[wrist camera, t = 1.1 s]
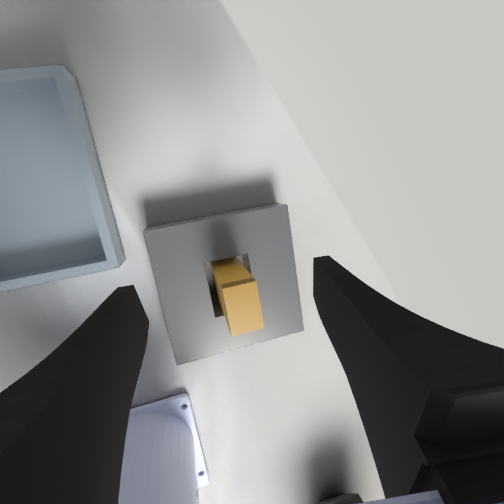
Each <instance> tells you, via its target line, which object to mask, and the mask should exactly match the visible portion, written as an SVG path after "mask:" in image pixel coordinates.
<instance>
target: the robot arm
mask: <svg viewBox="0 0 504 504" xmlns="http://www.w3.org/2000/svg"><path fill="white" fill-rule="evenodd" d="M313 297H314V300H315V303H316V307H317V310H318V313H319V316H320V319H321V321H322V323H323V325H324V327H325V330H326V332H327V334H328V336H329V338H330V340H331V343H332V345H333V347H334V349H335V351H336V353H337V355H338V358H339V360H340V362H341V364H342V366H343V369H344V371H345V373H346V376H347V379H348V381H349V384H350V387H351V390H352V393H353V396H354V399H355V401H356V404H357V407H358V410H359V413H360V416H361V419H362V422H363V425H364V429H365V432H366V435H367V438H368V441H369V445H370V448H371V451H372V454H373V457H374V461H375V464H376V467H377V471H378V474H379V478H380V481H381V484H382V488H383V491H384V495H385V498H386V499H382V500H376V501H370V502H364V503H359V504H504V349H502V348H500V347H497V346H493V345H490V344H487V343H484V342H481V341H478V340H476V339H473V338H471V337H468V336H465V335H463V334H460V333H457V332H455V331H453V330H450V329H448V328H445V327H443V326H441V325H438V324H436V323H434V322H432V321H430V320H427V319H425V318H423V317H421V316H419V315H417V314H415V313H413V312H411V311H409V310H408V309H406V308H404V307H402V306H400V305H398V304H396V303H395V302H393V301H391V300H390V299H388V298H386V297H385V296H383V295H382V294H380V293H379V292H377V291H375V290H374V289H372V288H371V287H369V286H368V285H367V284H365V283H364V282H362V281H361V280H360V279H358V278H357V277H355V276H354V275H353V274H352V273H350V272H349V271H348V270H346V269H345V268H344V267H343V266H341V265H340V264H339V263H337V262H336V261H335V260H334V259H332V258H331V257H330V256H322V257H316V258H314V263H313ZM148 328H149V320H148V318H147V316H146V313H145V311H144V308H143V306H142V304H141V301H140V299H139V297H138V294H137V292H136V290H135V287H134V285H130V286H124V287H118V288H117V289H116V290H115V291H114V292H113V293H112V294H111V295H110V296H109V297H108V298H107V299H106V300H105V301H104V302H103V303H102V304H101V305H100V306H99V307H98V308H97V309H96V310H95V311H94V312H93V313H92V314H91V315H90V316H89V317H88V318H87V320H86V321H85V322H84V323H83V324H82V325H81V326H80V327H79V328H78V329H77V330H75V331H74V332H73V333H72V334H71V335H70V336H69V337H68V338H67V339H66V340H65V341H64V342H63V343H62V344H61V345H60V346H59V347H58V348H56V349H55V350H54V351H53V352H52V353H51V354H50V355H48V356H47V357H46V358H45V359H44V360H43V361H41V362H40V363H39V364H38V365H36V366H35V367H34V368H33V369H32V370H30V371H29V372H28V373H27V374H25V375H24V376H23V377H21V378H20V379H19V380H17V381H16V382H14V383H13V384H12V385H10V386H9V387H8V388H6V389H5V390H4V391H2V392H1V393H0V504H199V491H198V488H201V487H204V486H206V485H207V484H208V483H209V475H208V471H207V467H206V463H205V459H204V455H203V451H202V447H201V443H200V439H199V435H198V431H197V427H196V423H195V419H194V415H193V411H192V407H191V403H190V399H189V396H188V395H187V394H180V395H176V396H173V397H170V398H166V399H163V400H159V401H156V402H153V403H149V404H146V405H142V406H139V407H136V408H132V409H130V408H131V404H132V399H133V395H134V392H135V388H136V384H137V380H138V376H139V373H140V369H141V365H142V361H143V357H144V353H145V349H146V345H147V337H148ZM183 404H186V405H187V406H182V405H183ZM200 471H202V472H200Z"/></svg>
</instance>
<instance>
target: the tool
mask: <svg viewBox="0 0 504 504" xmlns="http://www.w3.org/2000/svg"><path fill="white" fill-rule="evenodd" d="M359 503H363V501H362V499H361V497H360V496H359V494H341V495H338V496H335V497H332V498H329V499H326V500H323V501H320V502H319V504H359Z"/></svg>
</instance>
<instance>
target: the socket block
mask: <svg viewBox="0 0 504 504" xmlns="http://www.w3.org/2000/svg"><path fill="white" fill-rule="evenodd" d="M143 234H144V238H145V242H146V246H147V249H148V253H149V257H150V261H151V265H152V269H153V273H154V277H155V281H156V285H157V289H158V293H159V297H160V301H161V305H162V309H163V313H164V317H165V321H166V325H167V329H168V333H169V336H170V340H171V344H172V348H173V352H174V356H175V360H176V364H177V365H180V364H184V363H188V362H191V361H195V360H198V359H202V358H206V357H209V356H213V355H217V354H220V353H224V352H227V351H231V350H235V349H238V348H242V347H246V346H249V345H253V344H256V343H260V342H264V341H267V340H271V339H275V338H278V337H282V336H286V335H289V334H293V333H296V332H300V331H304V326H303V319H302V311H301V304H300V296H299V289H298V281H297V274H296V266H295V259H294V251H293V244H292V236H291V229H290V221H289V214H288V207H287V204H278V203H275V204H270V205H265V206H259V207H254V208H248V209H243V210H238V211H232V212H227V213H222V214H216V215H211V216H205V217H200V218H195V219H189V220H184V221H179V222H173V223H168V224H162V225H157V226H152V227H147V228H146V229H145V230H144V231H143ZM238 255H243V260H244V265H245V268H246V269H247V270H248V272H249V273H250V274H251V275H252V276H253V278H254V279H255V280H256V281H257V287H258V293H259V299H260V305H261V311H262V317H263V323H264V328H263V329H260V330H256V331H252V332H248V333H245V334H241V335H237V336H233V337H232V336H231V334H230V331H229V328H228V325H227V322H226V319H225V316H224V313H223V311H222V308H221V305H220V303H219V304H215V305H212V300H211V296H210V291H209V286H208V281H207V277H206V272H205V267H204V263H206V262H210V261H215V260H220V259H224V258H229V257H234V256H238Z"/></svg>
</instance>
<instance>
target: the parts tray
mask: <svg viewBox="0 0 504 504" xmlns="http://www.w3.org/2000/svg"><path fill="white" fill-rule="evenodd" d="M125 260H126V258H125V254H124V250H123V247H122V243H121V239H120V236H119V232H118V228H117V225H116V221H115V217H114V214H113V210H112V206H111V203H110V199H109V195H108V192H107V188H106V184H105V181H104V177H103V173H102V170H101V166H100V162H99V159H98V155H97V151H96V148H95V144H94V140H93V137H92V133H91V129H90V126H89V122H88V118H87V115H86V111H85V107H84V104H83V100H82V96H81V93H80V89H79V85H78V82H77V80H76V79H75V78H74V77H73V75H72V74H71V73H70V72H69V71H68V70H67V69H66V68H65V67H64V66H63V65H50V66H38V67H26V68H14V69H2V70H0V292H3V291H8V290H13V289H18V288H22V287H27V286H32V285H37V284H42V283H47V282H51V281H56V280H61V279H66V278H71V277H76V276H80V275H85V274H90V273H95V272H100V271H105V270H109V269H114V268H119V267H120V266H121V265H122V263H123V262H124V261H125Z"/></svg>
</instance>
